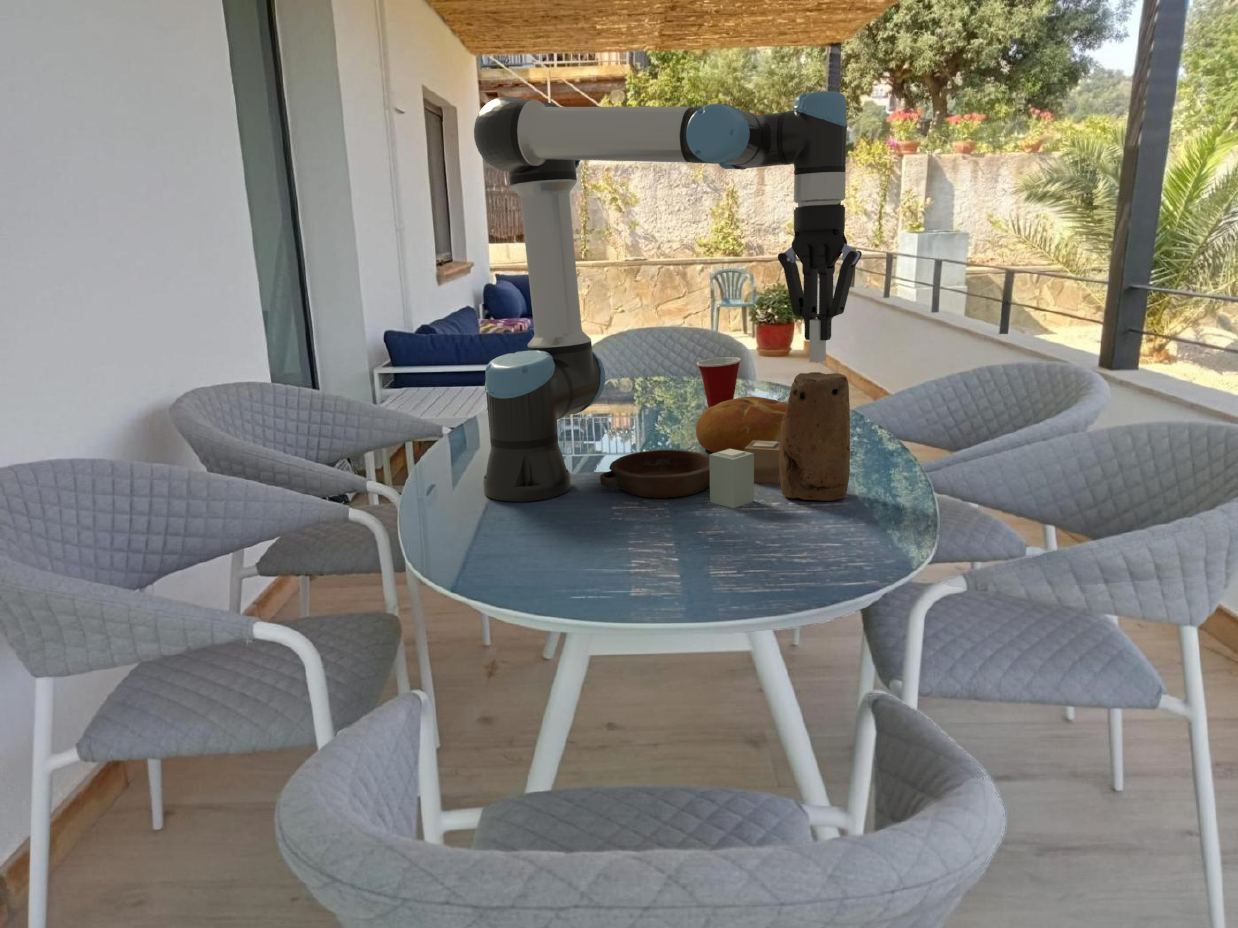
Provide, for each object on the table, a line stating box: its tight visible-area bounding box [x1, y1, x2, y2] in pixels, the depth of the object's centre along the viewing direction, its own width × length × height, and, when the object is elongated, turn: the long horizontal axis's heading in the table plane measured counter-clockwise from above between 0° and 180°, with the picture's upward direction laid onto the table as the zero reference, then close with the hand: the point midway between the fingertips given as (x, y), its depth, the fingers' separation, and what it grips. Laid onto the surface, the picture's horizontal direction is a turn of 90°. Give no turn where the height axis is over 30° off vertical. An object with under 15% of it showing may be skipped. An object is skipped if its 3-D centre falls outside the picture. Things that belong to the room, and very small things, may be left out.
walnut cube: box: [744, 440, 780, 484], centre depth 153 cm, size 6×6×6 cm
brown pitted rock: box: [779, 371, 851, 502], centre depth 140 cm, size 11×8×20 cm
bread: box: [695, 396, 788, 454], centre depth 174 cm, size 23×23×10 cm
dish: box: [599, 449, 710, 499], centre depth 150 cm, size 18×22×5 cm
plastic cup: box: [696, 356, 742, 409], centre depth 213 cm, size 11×11×12 cm
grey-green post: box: [708, 449, 755, 509], centre depth 141 cm, size 5×5×8 cm
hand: (817, 361), depth 137 cm, fingers closed
